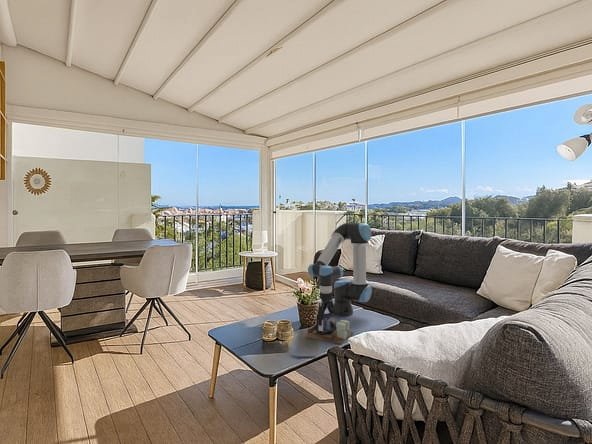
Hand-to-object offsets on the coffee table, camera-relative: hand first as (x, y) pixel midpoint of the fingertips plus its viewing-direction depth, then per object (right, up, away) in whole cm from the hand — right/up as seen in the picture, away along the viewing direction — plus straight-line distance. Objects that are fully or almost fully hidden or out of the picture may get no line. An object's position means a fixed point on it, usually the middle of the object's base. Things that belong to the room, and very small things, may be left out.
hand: (325, 327), depth 214 cm
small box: (0, -3, 0) cm, 3 cm away
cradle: (+2, -5, -1) cm, 5 cm away
